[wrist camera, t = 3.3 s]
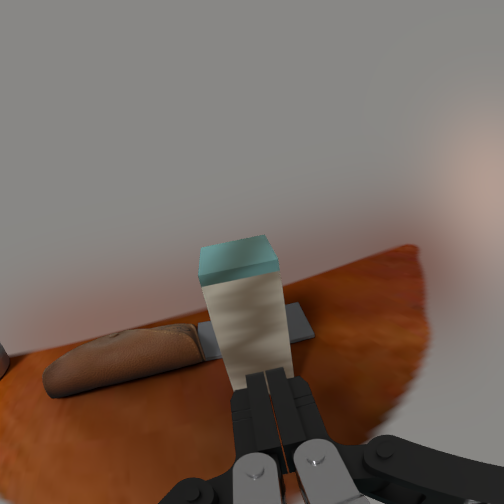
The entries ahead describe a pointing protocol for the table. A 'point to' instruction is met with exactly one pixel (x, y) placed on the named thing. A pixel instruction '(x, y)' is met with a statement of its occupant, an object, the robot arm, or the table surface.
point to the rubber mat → (295, 322)
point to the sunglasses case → (123, 358)
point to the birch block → (246, 307)
